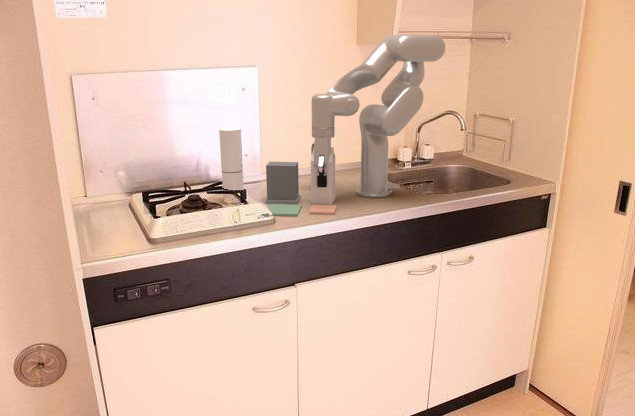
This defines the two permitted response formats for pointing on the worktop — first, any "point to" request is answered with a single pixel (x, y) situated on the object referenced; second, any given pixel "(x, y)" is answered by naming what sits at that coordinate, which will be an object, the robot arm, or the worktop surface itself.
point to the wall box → (282, 183)
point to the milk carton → (327, 193)
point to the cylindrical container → (231, 159)
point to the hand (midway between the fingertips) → (323, 183)
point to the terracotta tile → (323, 209)
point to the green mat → (284, 209)
